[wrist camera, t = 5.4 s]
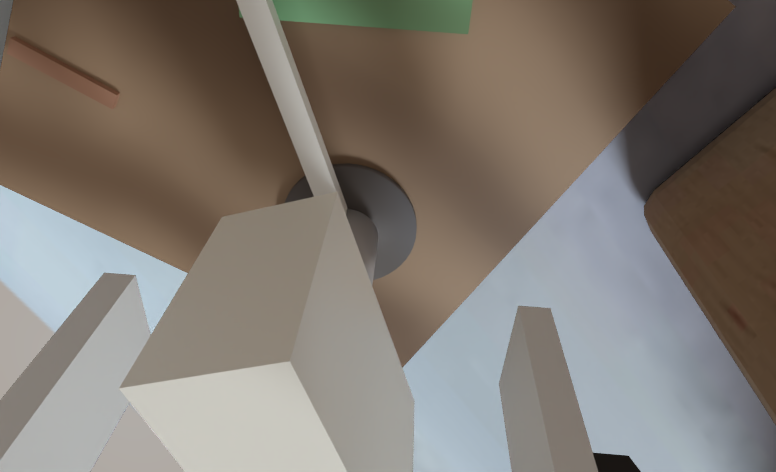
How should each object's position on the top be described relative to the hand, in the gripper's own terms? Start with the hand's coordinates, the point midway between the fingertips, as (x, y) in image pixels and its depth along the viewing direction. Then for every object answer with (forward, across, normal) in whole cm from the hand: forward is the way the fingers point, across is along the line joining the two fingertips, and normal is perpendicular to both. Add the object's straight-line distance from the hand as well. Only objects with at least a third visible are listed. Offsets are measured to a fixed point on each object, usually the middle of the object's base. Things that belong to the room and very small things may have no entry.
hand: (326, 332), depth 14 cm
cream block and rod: (+4, -1, +3) cm, 5 cm away
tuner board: (+8, -1, +4) cm, 9 cm away
